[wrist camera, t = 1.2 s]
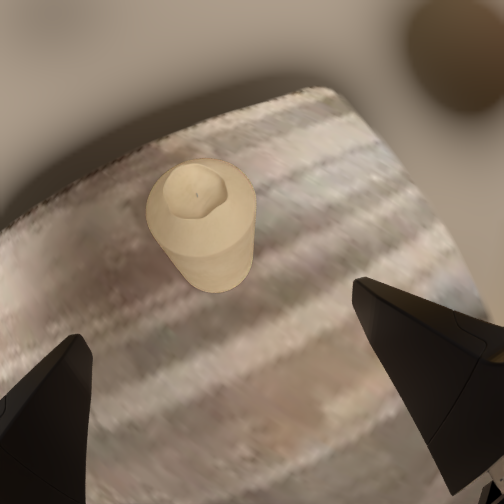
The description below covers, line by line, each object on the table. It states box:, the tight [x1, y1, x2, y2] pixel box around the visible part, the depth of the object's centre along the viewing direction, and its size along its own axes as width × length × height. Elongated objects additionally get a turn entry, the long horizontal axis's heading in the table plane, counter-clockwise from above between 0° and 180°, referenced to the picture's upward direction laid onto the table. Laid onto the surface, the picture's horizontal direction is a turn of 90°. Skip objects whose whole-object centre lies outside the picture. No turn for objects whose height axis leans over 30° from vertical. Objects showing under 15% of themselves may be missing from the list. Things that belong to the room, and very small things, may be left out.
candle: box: [146, 158, 256, 293], centre depth 18 cm, size 6×6×10 cm
